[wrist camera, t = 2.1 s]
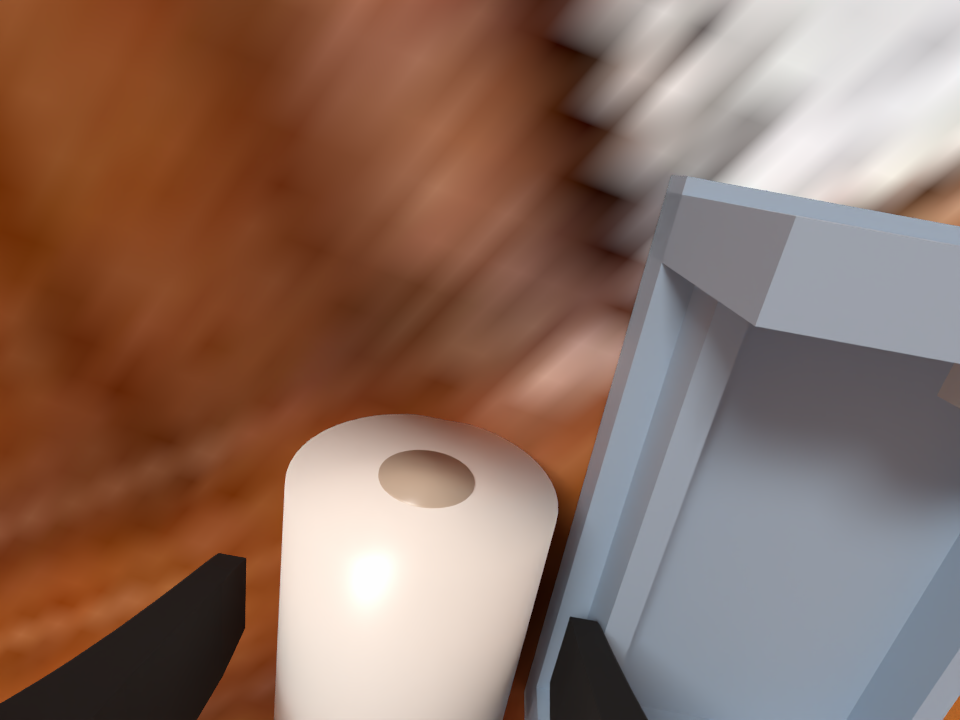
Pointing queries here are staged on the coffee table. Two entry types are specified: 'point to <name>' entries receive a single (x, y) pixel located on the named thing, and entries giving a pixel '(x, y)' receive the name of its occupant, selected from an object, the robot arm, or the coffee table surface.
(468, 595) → the roll
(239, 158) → the coffee table surface
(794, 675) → the holder
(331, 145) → the coffee table surface
